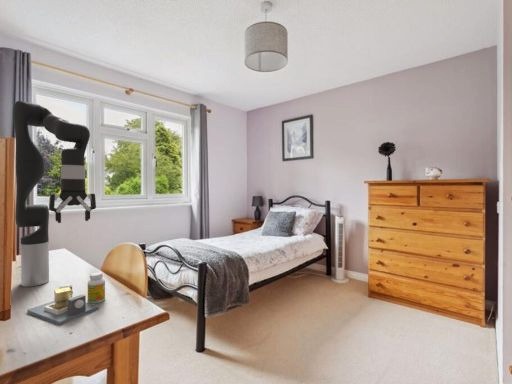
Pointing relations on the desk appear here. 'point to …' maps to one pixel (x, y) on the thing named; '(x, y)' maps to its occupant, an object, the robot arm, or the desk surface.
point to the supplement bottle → (96, 288)
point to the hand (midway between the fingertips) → (73, 221)
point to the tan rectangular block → (62, 297)
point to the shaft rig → (64, 309)
